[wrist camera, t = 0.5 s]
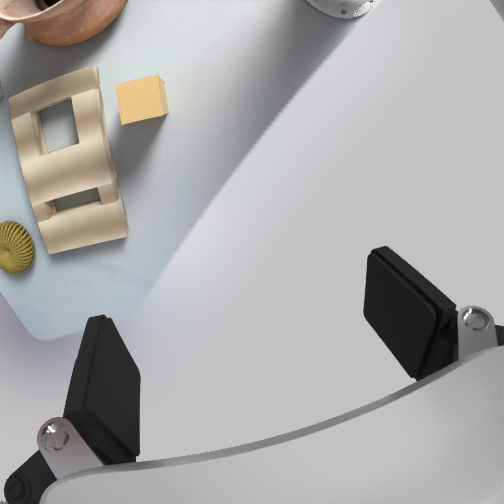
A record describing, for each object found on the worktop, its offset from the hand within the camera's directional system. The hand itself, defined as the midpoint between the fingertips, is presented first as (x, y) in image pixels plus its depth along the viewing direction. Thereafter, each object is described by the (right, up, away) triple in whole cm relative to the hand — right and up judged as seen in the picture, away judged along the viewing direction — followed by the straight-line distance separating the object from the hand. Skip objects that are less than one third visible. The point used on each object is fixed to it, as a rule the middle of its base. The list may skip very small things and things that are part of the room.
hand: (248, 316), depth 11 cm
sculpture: (-35, +4, +26) cm, 44 cm away
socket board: (-23, +14, +23) cm, 36 cm away
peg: (-12, +21, +23) cm, 33 cm away
